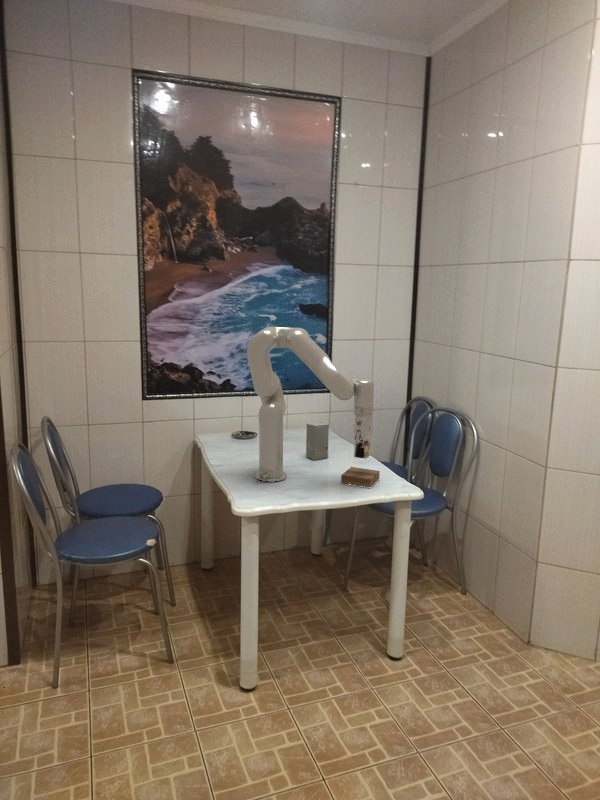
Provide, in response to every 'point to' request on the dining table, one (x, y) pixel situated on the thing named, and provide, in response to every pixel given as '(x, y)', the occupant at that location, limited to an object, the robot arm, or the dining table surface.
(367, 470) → the walnut block
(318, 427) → the skincare box
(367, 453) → the maple cube
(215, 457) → the dining table surface
